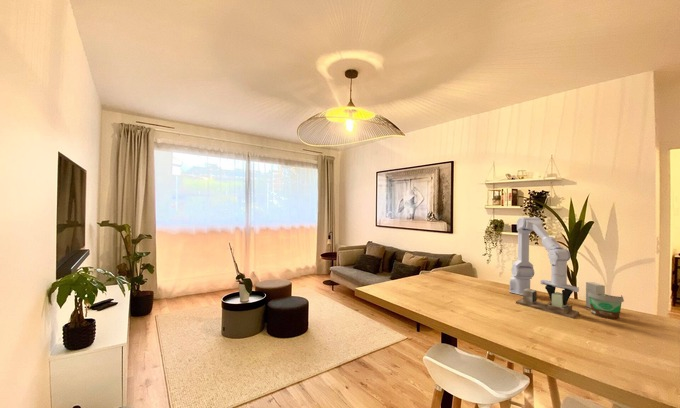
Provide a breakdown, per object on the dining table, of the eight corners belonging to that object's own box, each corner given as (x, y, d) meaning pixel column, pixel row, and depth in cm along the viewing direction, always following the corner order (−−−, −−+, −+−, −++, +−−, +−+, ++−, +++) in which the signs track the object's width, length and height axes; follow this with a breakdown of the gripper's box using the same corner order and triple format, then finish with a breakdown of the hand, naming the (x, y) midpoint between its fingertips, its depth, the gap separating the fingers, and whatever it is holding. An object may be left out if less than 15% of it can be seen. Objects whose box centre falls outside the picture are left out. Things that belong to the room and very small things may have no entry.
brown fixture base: (515, 303, 141) (515, 289, 141) (523, 299, 146) (523, 286, 146) (573, 318, 122) (573, 302, 122) (579, 313, 128) (579, 298, 128)
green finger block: (550, 306, 131) (550, 293, 131) (555, 304, 133) (556, 291, 133) (561, 309, 127) (561, 296, 127) (566, 307, 130) (566, 294, 130)
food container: (591, 316, 124) (591, 294, 124) (587, 312, 130) (587, 290, 130) (629, 322, 118) (629, 299, 119) (622, 317, 124) (623, 295, 124)
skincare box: (605, 310, 132) (605, 285, 132) (596, 310, 132) (596, 285, 132) (593, 306, 138) (594, 282, 138) (585, 306, 138) (585, 282, 138)
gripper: (581, 276, 126) (581, 306, 126) (545, 270, 139) (545, 297, 139) (574, 278, 122) (574, 309, 122) (538, 271, 135) (538, 299, 135)
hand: (558, 303), depth 130 cm, fingers closed on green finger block, 4 cm apart
